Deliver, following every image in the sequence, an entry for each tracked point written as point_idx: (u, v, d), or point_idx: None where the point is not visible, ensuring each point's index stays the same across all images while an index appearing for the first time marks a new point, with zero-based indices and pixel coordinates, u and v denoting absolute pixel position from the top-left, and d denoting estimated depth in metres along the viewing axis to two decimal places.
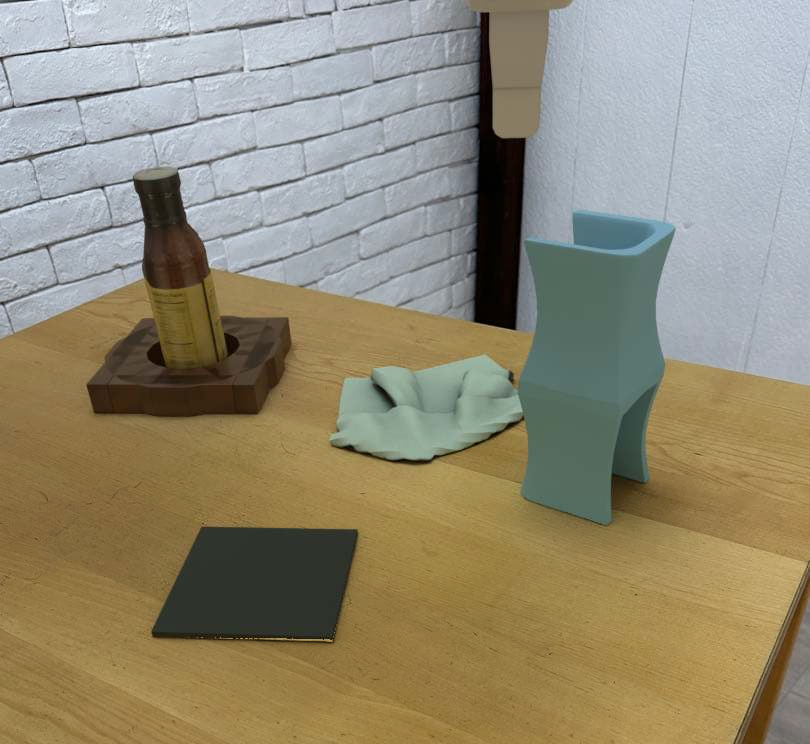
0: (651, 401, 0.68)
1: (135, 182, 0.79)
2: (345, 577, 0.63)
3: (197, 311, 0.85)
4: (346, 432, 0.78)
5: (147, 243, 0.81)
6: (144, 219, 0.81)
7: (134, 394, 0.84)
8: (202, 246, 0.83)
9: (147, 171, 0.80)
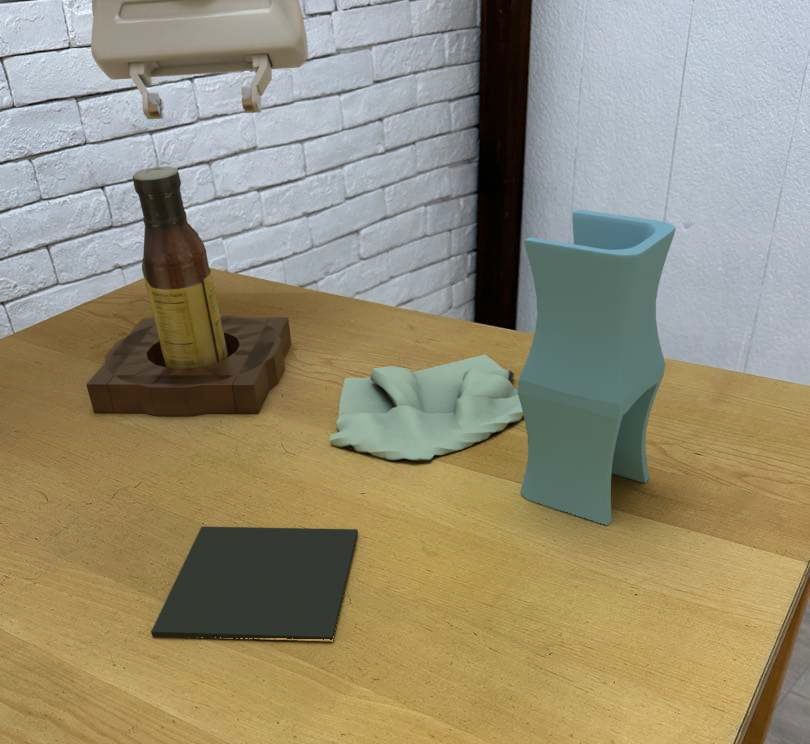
0: (651, 401, 0.68)
1: (135, 182, 0.79)
2: (345, 577, 0.63)
3: (197, 311, 0.85)
4: (346, 432, 0.78)
5: (147, 243, 0.81)
6: (144, 219, 0.81)
7: (134, 394, 0.84)
8: (202, 246, 0.83)
9: (147, 171, 0.80)
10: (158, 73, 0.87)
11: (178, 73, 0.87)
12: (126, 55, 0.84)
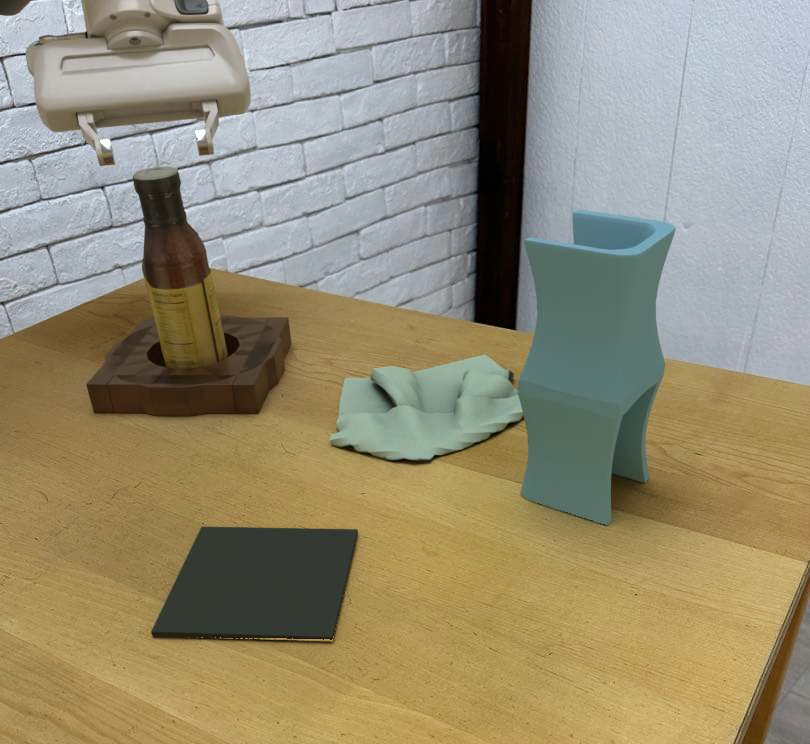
0: (651, 401, 0.68)
1: (135, 182, 0.79)
2: (345, 577, 0.63)
3: (197, 311, 0.85)
4: (346, 432, 0.78)
5: (147, 243, 0.81)
6: (144, 219, 0.81)
7: (134, 394, 0.84)
8: (202, 246, 0.83)
9: (147, 171, 0.80)
10: (102, 124, 0.88)
11: (123, 123, 0.88)
12: (74, 104, 0.85)
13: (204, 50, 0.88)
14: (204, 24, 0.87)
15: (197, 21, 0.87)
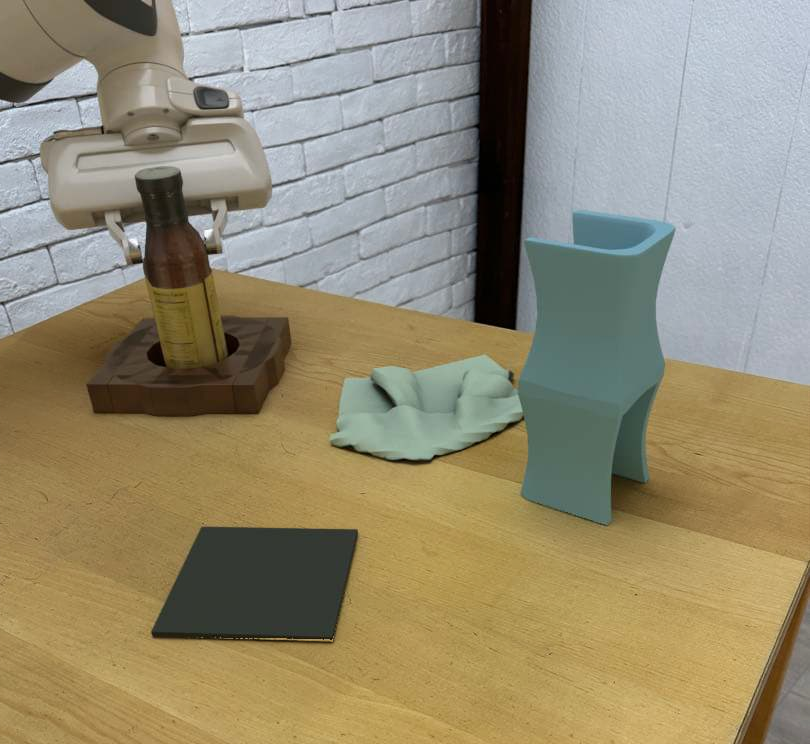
0: (651, 401, 0.68)
1: (137, 181, 0.79)
2: (345, 577, 0.63)
3: (197, 311, 0.85)
4: (346, 432, 0.78)
5: (148, 242, 0.81)
6: (146, 218, 0.81)
7: (134, 394, 0.84)
8: (203, 246, 0.83)
9: (149, 170, 0.80)
10: None
11: (140, 220, 0.85)
12: (90, 204, 0.82)
13: (225, 144, 0.85)
14: (224, 118, 0.84)
15: (217, 115, 0.84)
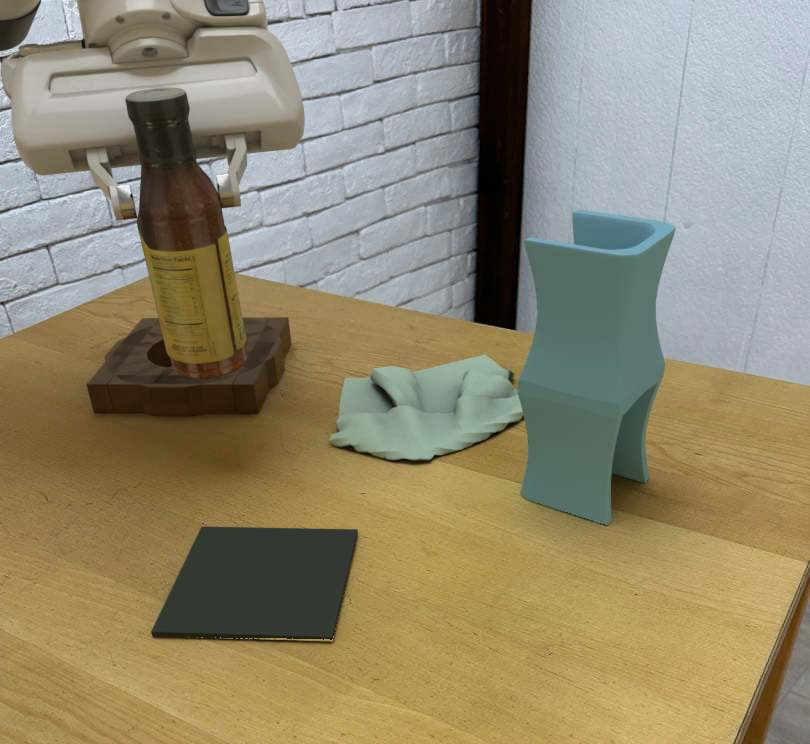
0: (651, 401, 0.68)
1: (129, 105, 0.59)
2: (345, 577, 0.63)
3: (208, 281, 0.65)
4: (346, 432, 0.78)
5: (144, 189, 0.62)
6: (140, 157, 0.61)
7: (134, 394, 0.84)
8: (216, 195, 0.64)
9: (145, 92, 0.60)
10: None
11: (133, 163, 0.65)
12: (67, 139, 0.62)
13: (243, 64, 0.65)
14: (243, 29, 0.64)
15: (234, 25, 0.64)
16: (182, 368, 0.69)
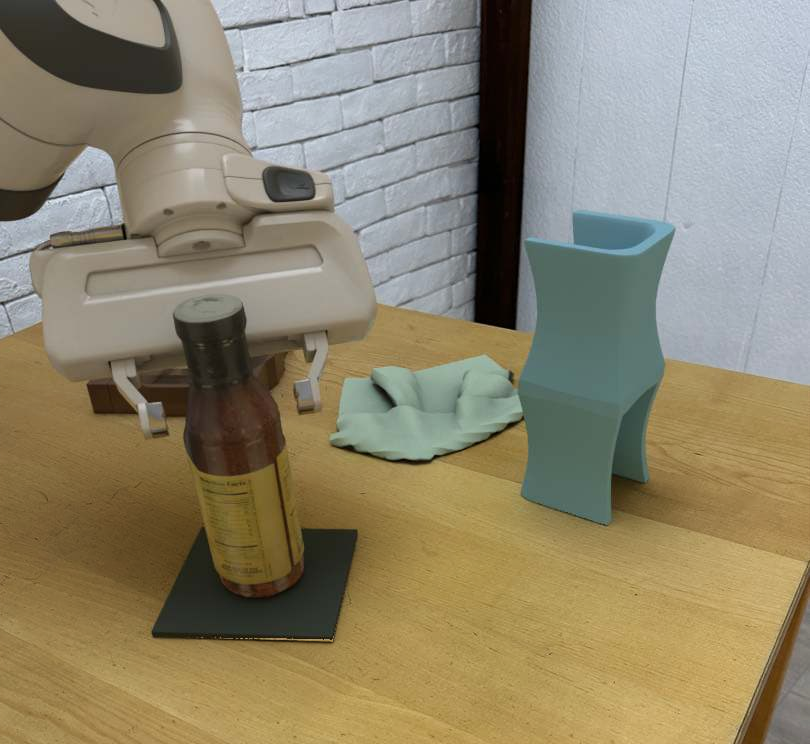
0: (651, 401, 0.68)
1: (177, 324, 0.51)
2: (345, 577, 0.63)
3: (266, 502, 0.56)
4: (346, 432, 0.78)
5: (194, 410, 0.53)
6: (189, 375, 0.53)
7: None
8: (275, 409, 0.55)
9: (195, 304, 0.52)
10: (149, 367, 0.56)
11: (181, 364, 0.57)
12: (107, 350, 0.53)
13: (307, 252, 0.57)
14: (308, 214, 0.56)
15: (297, 209, 0.56)
16: (233, 587, 0.61)
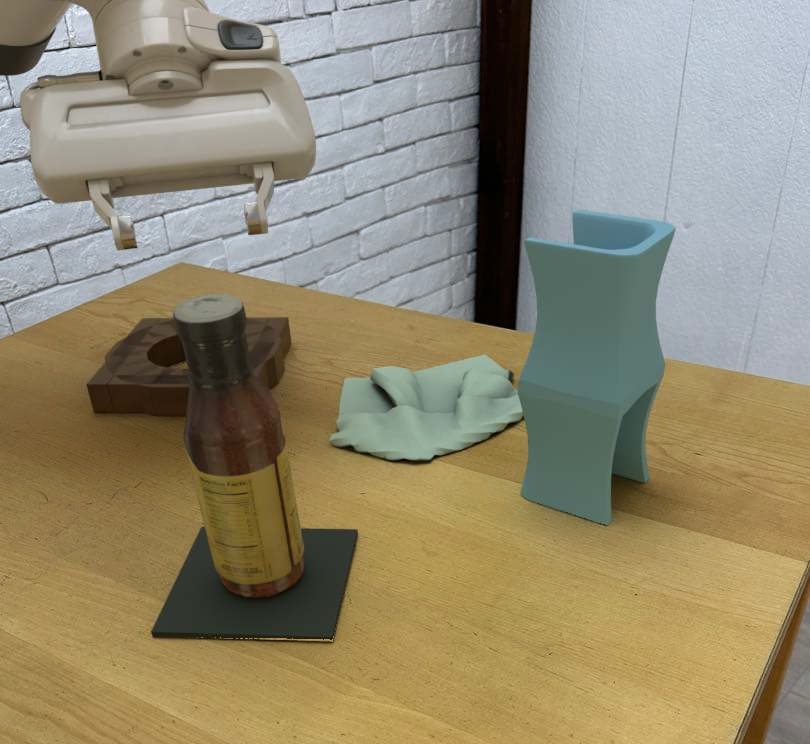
0: (651, 401, 0.68)
1: (178, 324, 0.51)
2: (345, 577, 0.63)
3: (266, 502, 0.56)
4: (346, 432, 0.78)
5: (194, 410, 0.53)
6: (190, 375, 0.53)
7: (134, 394, 0.84)
8: (275, 409, 0.55)
9: (195, 304, 0.52)
10: (121, 193, 0.66)
11: (148, 191, 0.67)
12: (84, 170, 0.63)
13: (257, 95, 0.66)
14: (257, 62, 0.66)
15: (248, 58, 0.66)
16: (233, 587, 0.61)
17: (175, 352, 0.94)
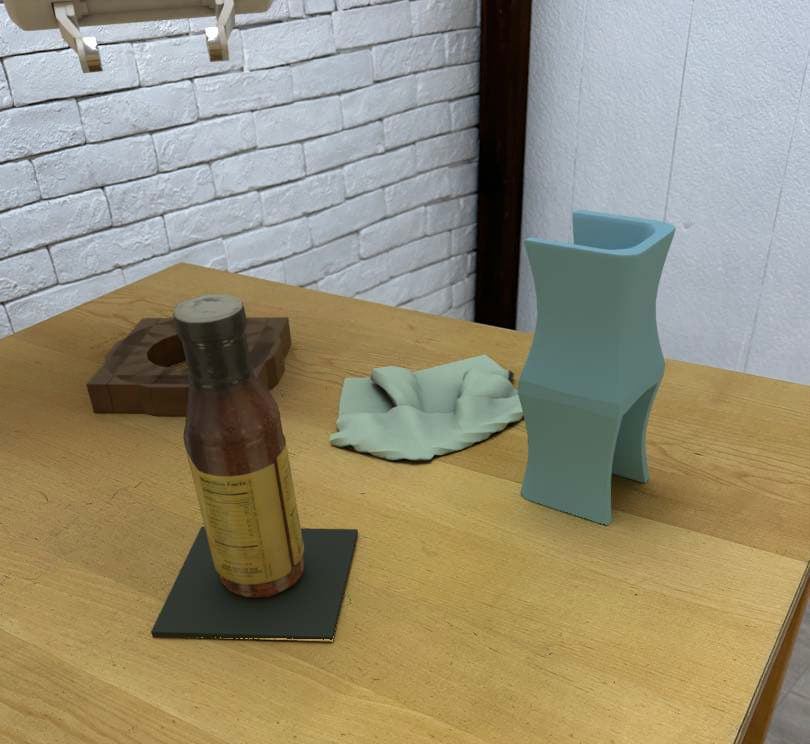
0: (651, 401, 0.68)
1: (178, 324, 0.51)
2: (345, 577, 0.63)
3: (266, 502, 0.56)
4: (346, 432, 0.78)
5: (194, 410, 0.53)
6: (190, 375, 0.53)
7: (134, 394, 0.84)
8: (275, 409, 0.55)
9: (195, 304, 0.52)
10: (87, 21, 0.69)
11: (113, 21, 0.69)
12: None
13: None
14: None
15: None
16: (233, 587, 0.61)
17: (175, 352, 0.94)
